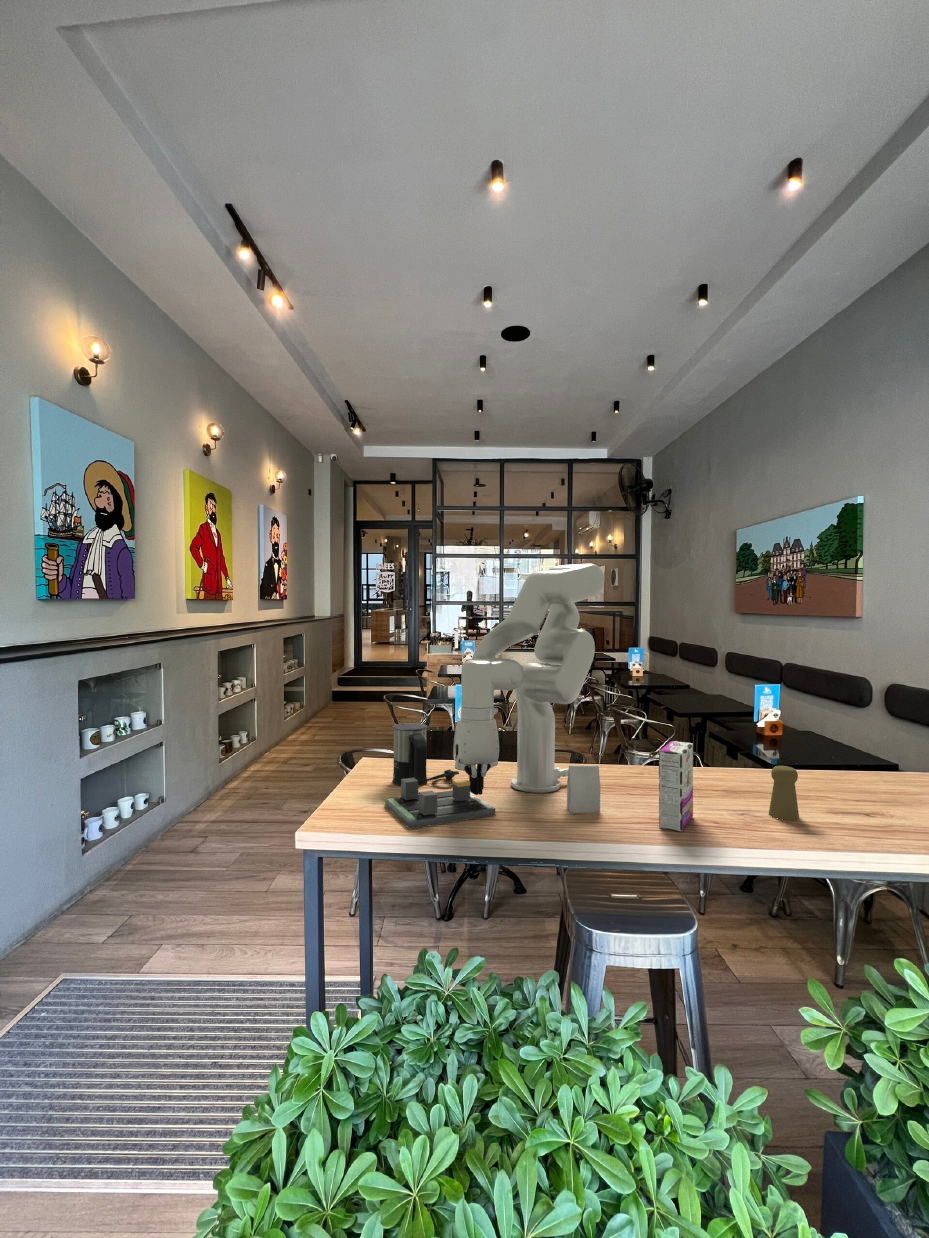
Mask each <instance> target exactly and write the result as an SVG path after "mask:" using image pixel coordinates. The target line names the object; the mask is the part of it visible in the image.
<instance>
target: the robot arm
mask: <svg viewBox="0 0 929 1238" xmlns="http://www.w3.org/2000/svg"><path fill="white" fill-rule="evenodd" d="M604 585H605V574H604V571H603V570H602V568H601V567H600V566H599V565H597V564H594V563H580V564H579V563H578V564H577V563H576V564H562V565H555V566H553V567H550V568H549V569H548V570H542V571H541V570H538V571H534V572H531V573H530V574H529V575H528V576H527V577H526V579H525V581H524V582H523V585H522V587H521V588H520V591H519V593H518V594H517V597H516V599H515V600H514V603H513V605H512V607H511V609H510V611H509V613H508V616H507V617H506V618H504V620H503V621H501V622H499V623H498V624H497V625H496V626H495V627H494V628H493V629H491V630H490V631H489V632H488V633H487V634H485V636H484V637H483V638H482V639H481V640H480V641H479V644H478V645H477V646H476V649H475V651H474V653H473V654H472V657H471V658H470V660H466V661H464V662H463V663H462V664H461V692H460V693H461V694H460V696H461V697H460V718H459V719H457V721H456V725H455V730H454V738H453V745H452V746H453V747H452V758H453V761H455V763H454V769H455V770H456V771H463V772H465V773H466V775H468V781H470V793H472V794H473V795H475V796H479V795H483V793H484V792H483V791H484V788H485V787H484V785H485V781H484V779H485V777H486V776H487V772H489V770H490V769H492V768H494V767H496V766H498V765H499V761H498V760H499V757H500V741H499V740H500V739H499V738H500V737H499V731H498V724H497V719H495V715H496V714H498V713H499V708H498V707H495V704H494V703H495V701H494V700H495V691H505V692H509V691H515V692H514V693H515V697H516V698H515V699H516V705H517V707H516V708H517V740H516V741H517V743H516V744H517V749H516V751H517V752H516V753H517V756H516V757H517V761H516V762H517V763H516V768H517V769H516V776H515V777H513V778H512V779H511V780H510V786H511V787H512V788H513V789H515V790H517V791H520V792H525V793H534V794H537V793H538V794H539V793H540V794H541V793H542V794H543V793H545V794H546V793H553V792H556V791H558V790H559V789H560V788H561V782H560V780H559V779H560V778H561V777H563V778H564V777H568V771H569V768H562V769H561V768H560V767H556V766H555V755H556V754H555V751H556V750H555V749H556V748H555V746H556V745H555V744H556V743H555V742H556V741H555V740H556V737H555V736H556V734H555V733H556V729H555V728H556V716H555V713H554V710H553V707H552V705H551V704H552V703H553V704H561V705H569V704H571V703H573V702H574V701H575V700H577V698H578V696H579V695H580V693H581V691H582V688H583V686H584V683H585V682H586V679H587V676H588V673H589V671H590V668H591V665H592V664H593V661H594V657H595V652H596V645H595V640H594V638H593V636H592V634H591V633H590V632H588V631H587V630H585V629H580V628H578V626H579V624H580V621H581V620H580V619H581V618H580V612H579V610H578V608H577V606H576V603H578V602H582V601H584V600H586V599H587V600H588V599H590V598H593V597H596V596H598V595H599V594H600V593H601V591H602V590H603V588H604ZM547 613H548V614H547ZM546 615H547V617H546ZM545 618H546V619H545ZM544 620H545V622H544ZM543 623H544V624H543ZM542 625H543V626H542ZM541 627H542V628H541ZM540 629H541V630H540ZM539 631H540V633H539ZM538 633H539V635H538V636H537V638H536V639H537V640H536V642H535V646H534V652H533V653H534V655H535V657H536V659H537V660H538V661H540V662H528V663H524V664H521V663H520V662H518V661H517V660H514V659H511V658H504V657H503V658H502V657H500V656H501V655H502V653H503V652H504V651H506V650H507V649H508V648H510V647H513V646H515V645H516V644H518V643H521V642H523V641H525V640H528V639H530V638H532V637H534V636H536V635H537V634H538ZM541 662H542V663H541Z"/></svg>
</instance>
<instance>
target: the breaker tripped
mask: <svg viewBox="0 0 929 1238" xmlns="http://www.w3.org/2000/svg"><path fill="white" fill-rule="evenodd" d="M452 790H453V798H454V799H456V800H457V801H463V800H470V793H471V792H470V781H469V779H468V780H467V779H466V778H459V779H453V780H452Z"/></svg>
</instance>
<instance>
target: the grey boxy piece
mask: <svg viewBox="0 0 929 1238" xmlns="http://www.w3.org/2000/svg"><path fill="white" fill-rule="evenodd" d="M568 769H569V771H568V776H567V782H566V808H567V811H568V812H569V813H573V814H577V813H587V814H588V813H591V814H592V812H593V813H594V812H600V813H601V778H600V766H599V765H569V766H568Z"/></svg>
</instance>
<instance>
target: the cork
mask: <svg viewBox="0 0 929 1238" xmlns="http://www.w3.org/2000/svg"><path fill="white" fill-rule="evenodd" d="M770 773H771V779H772V780H773V786H772V791H771V797H770V803H769V809H768V815H771V816H772V817H771V816H770V817H771V818H773V817H774V818H773V819H775V818H778V819H777V820H779V819H783V820H782V821H784V820H786V822H795V820H797V819H799V820H800V812H799V806H798V798H797V789H796V783H797V781H798V778H799V774H798V771H797V770H796V769H795V768H794V767H792V766H788V765H775V766H774V767H773V768H772V769H771V771H770ZM797 821H798V820H797Z"/></svg>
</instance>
